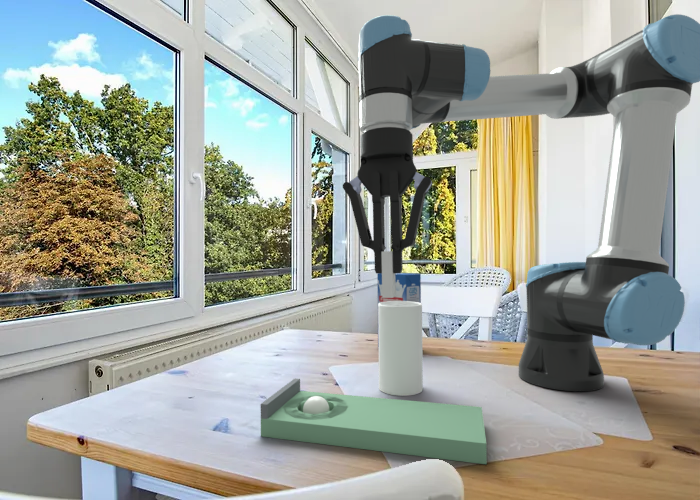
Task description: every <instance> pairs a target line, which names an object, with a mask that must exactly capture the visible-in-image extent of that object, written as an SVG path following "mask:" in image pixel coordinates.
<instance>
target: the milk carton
mask: <svg viewBox="0 0 700 500" xmlns="http://www.w3.org/2000/svg"><path fill="white" fill-rule="evenodd" d="M376 275H377V277H376V278H377V305H378V304H379V303H380V302H387V301H411V302H419V303H421V301H422V299H421V297H422V293H421V292H422V287H421V286H422V285H421V284H422V283H421V281H422V280H421V279H422V278H421V273H407V272H401V273H395V281H396V296H395V297H393V298H382V273H376ZM377 347H378V348H379V339H378V338H377Z"/></svg>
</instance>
